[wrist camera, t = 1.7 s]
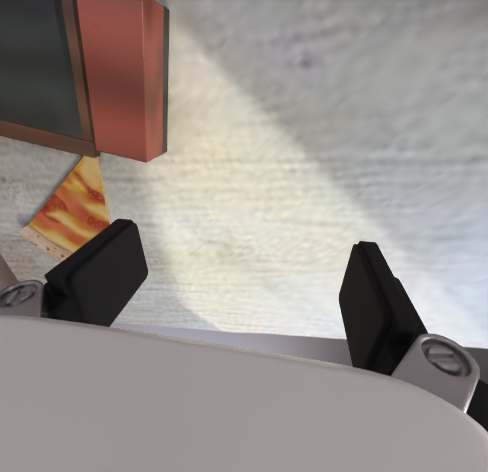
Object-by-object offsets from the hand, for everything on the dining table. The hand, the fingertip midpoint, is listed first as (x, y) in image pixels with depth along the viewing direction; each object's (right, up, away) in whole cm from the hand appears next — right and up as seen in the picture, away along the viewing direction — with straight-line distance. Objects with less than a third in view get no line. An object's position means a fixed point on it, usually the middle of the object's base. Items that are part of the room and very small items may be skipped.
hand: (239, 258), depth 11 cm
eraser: (-10, +17, +16) cm, 25 cm away
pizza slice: (-22, +2, +28) cm, 35 cm away
